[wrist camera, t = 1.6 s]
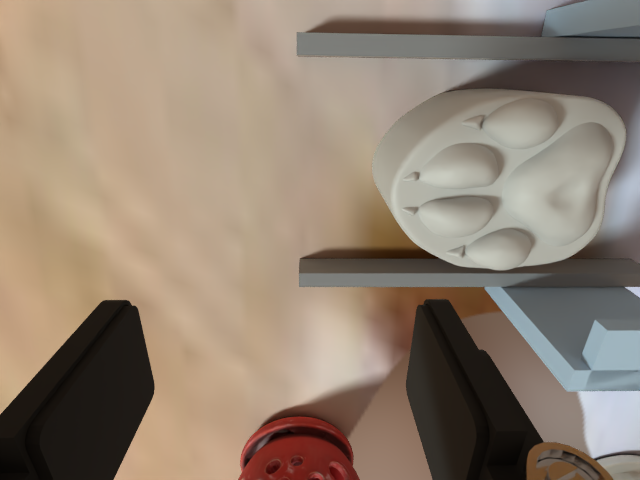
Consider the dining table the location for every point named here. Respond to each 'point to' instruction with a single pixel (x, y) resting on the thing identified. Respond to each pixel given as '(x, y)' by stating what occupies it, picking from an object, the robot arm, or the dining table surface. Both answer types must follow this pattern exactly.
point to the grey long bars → (439, 269)
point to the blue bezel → (582, 302)
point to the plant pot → (297, 452)
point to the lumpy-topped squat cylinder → (500, 174)
